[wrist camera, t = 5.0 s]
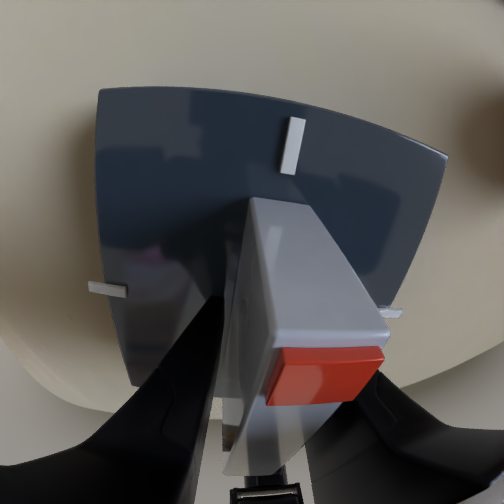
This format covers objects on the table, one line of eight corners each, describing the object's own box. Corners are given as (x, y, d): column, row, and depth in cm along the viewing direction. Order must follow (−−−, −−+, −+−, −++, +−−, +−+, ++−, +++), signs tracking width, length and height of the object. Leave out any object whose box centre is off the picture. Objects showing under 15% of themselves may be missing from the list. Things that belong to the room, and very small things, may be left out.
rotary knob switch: (330, 354, 15) (344, 398, 12) (133, 339, 13) (119, 386, 10) (412, 144, 9) (463, 162, 6) (121, 93, 7) (76, 91, 5)
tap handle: (262, 371, 10) (273, 481, 6) (222, 369, 10) (222, 482, 6) (311, 204, 7) (403, 346, 3) (249, 195, 7) (273, 350, 2)
